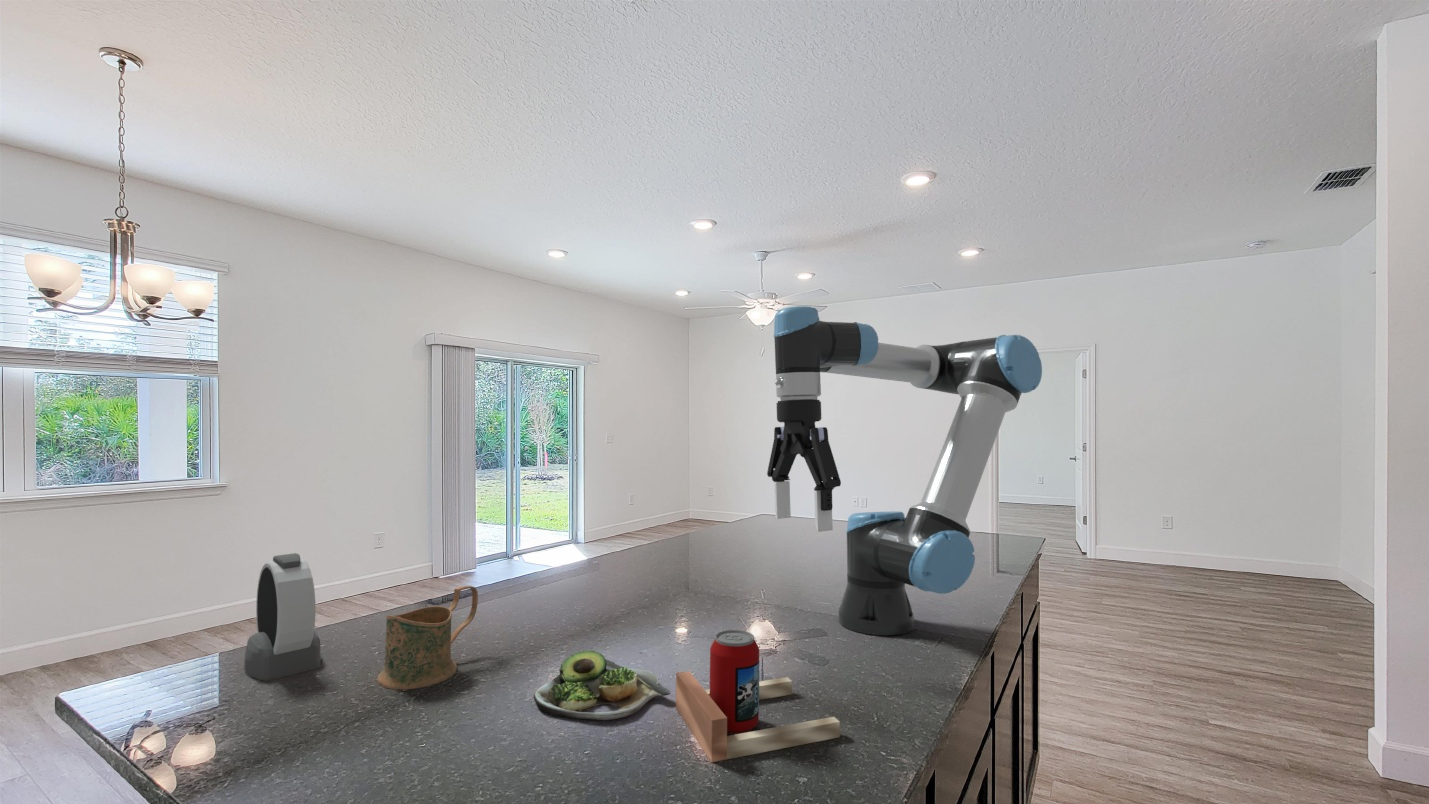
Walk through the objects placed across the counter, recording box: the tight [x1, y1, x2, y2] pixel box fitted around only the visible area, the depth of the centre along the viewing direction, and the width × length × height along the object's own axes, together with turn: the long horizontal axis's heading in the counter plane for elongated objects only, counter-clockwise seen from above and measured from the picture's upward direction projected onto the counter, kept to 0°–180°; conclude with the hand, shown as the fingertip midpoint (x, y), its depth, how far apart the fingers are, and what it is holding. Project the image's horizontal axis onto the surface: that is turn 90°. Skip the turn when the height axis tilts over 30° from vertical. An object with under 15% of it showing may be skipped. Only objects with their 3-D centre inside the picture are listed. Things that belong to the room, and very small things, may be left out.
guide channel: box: [675, 670, 841, 763], centre depth 84 cm, size 18×15×5 cm
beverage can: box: [709, 629, 760, 735], centre depth 83 cm, size 7×7×12 cm
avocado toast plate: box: [533, 650, 671, 721], centre depth 92 cm, size 19×18×5 cm
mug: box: [377, 585, 479, 690], centre depth 102 cm, size 12×18×12 cm, turn 155°
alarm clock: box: [243, 552, 321, 681], centre depth 103 cm, size 16×10×18 cm, turn 47°
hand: (802, 524), depth 103 cm, fingers open, 13 cm apart
